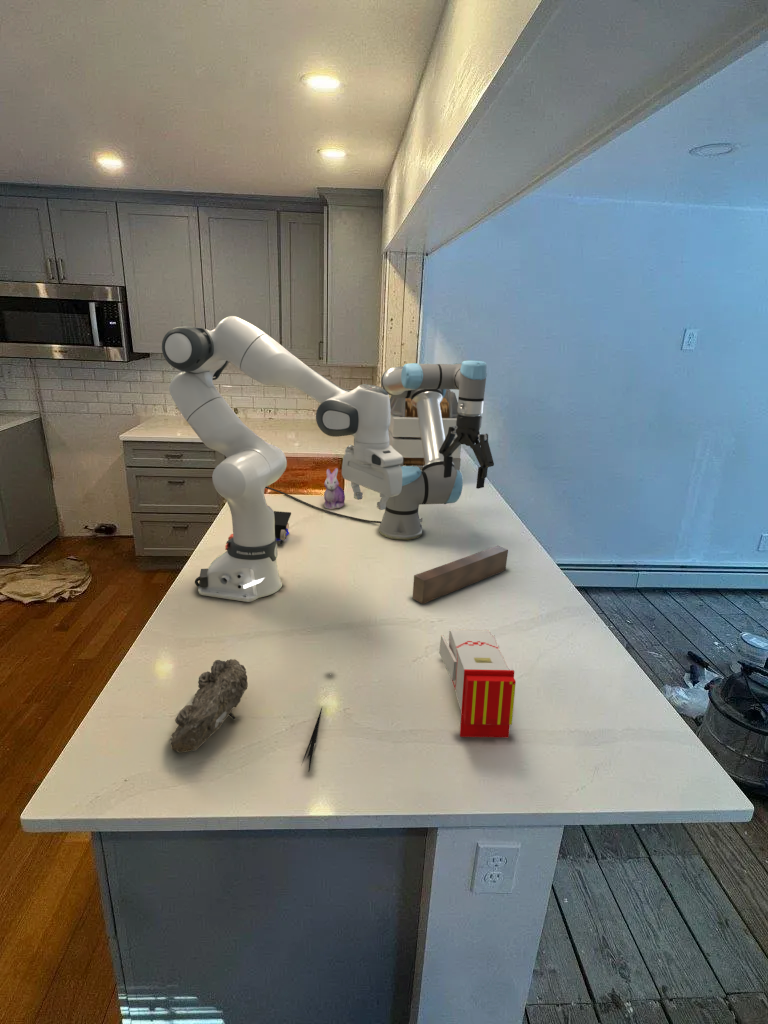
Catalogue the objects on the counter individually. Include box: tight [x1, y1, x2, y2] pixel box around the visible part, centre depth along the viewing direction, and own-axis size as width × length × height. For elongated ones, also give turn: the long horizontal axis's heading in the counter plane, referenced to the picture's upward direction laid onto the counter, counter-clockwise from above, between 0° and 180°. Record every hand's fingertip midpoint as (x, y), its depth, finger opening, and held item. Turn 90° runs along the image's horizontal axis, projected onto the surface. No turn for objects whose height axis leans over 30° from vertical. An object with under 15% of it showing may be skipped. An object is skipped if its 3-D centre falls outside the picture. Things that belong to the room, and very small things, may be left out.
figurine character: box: [273, 510, 292, 545], centre depth 190 cm, size 7×8×15 cm
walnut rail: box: [412, 545, 509, 605], centre depth 164 cm, size 36×4×7 cm, turn 131°
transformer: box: [388, 389, 462, 472], centre depth 268 cm, size 34×33×41 cm
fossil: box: [170, 658, 249, 753], centre depth 106 cm, size 22×10×15 cm
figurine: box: [323, 467, 346, 510], centre depth 222 cm, size 9×10×15 cm
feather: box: [301, 673, 332, 771], centre depth 108 cm, size 2×28×2 cm
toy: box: [438, 628, 517, 738], centre depth 117 cm, size 12×13×30 cm
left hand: (369, 503), depth 146 cm, fingers open, 8 cm apart
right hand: (463, 482), depth 177 cm, fingers open, 13 cm apart
